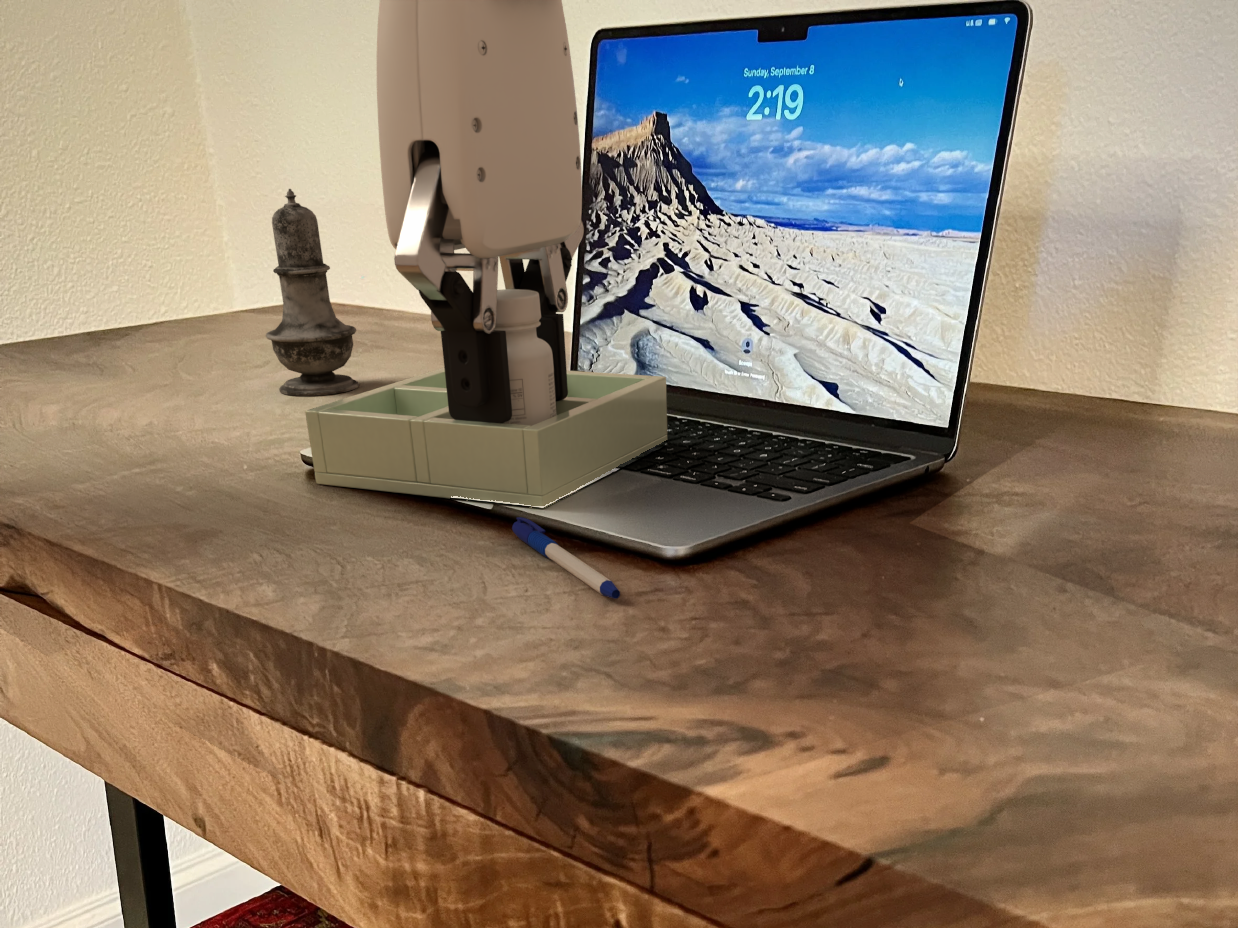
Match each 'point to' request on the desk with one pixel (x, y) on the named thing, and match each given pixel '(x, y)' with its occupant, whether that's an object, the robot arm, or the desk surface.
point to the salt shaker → (307, 308)
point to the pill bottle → (526, 357)
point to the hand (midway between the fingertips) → (510, 405)
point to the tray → (485, 440)
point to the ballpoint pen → (563, 557)
